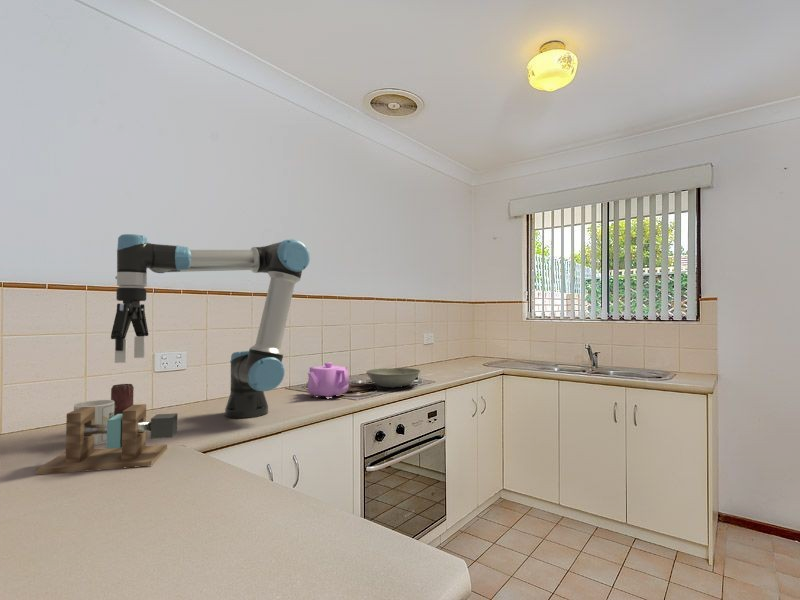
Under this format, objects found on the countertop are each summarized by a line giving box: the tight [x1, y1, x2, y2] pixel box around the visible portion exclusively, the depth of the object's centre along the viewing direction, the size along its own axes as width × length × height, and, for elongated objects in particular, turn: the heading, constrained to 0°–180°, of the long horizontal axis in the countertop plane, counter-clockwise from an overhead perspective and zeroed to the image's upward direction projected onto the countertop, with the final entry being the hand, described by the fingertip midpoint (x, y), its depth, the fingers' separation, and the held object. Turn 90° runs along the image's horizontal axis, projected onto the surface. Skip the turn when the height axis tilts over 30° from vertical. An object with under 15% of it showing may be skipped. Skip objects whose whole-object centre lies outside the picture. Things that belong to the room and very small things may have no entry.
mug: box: [73, 399, 115, 446], centre depth 128 cm, size 10×12×11 cm
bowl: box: [365, 367, 421, 388], centre depth 225 cm, size 27×28×8 cm
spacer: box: [106, 414, 122, 449], centre depth 113 cm, size 3×7×7 cm, turn 14°
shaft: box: [84, 413, 178, 439], centre depth 114 cm, size 21×5×5 cm, turn 104°
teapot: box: [307, 361, 350, 398], centre depth 199 cm, size 19×18×15 cm
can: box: [110, 383, 135, 416], centre depth 143 cm, size 6×6×14 cm
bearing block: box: [36, 403, 168, 475], centre depth 112 cm, size 24×14×13 cm, turn 104°
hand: (130, 360), depth 130 cm, fingers open, 13 cm apart
